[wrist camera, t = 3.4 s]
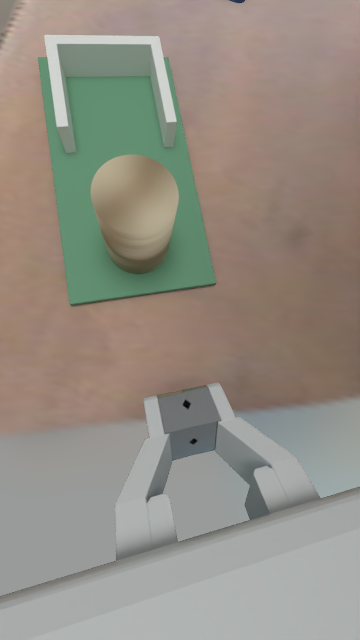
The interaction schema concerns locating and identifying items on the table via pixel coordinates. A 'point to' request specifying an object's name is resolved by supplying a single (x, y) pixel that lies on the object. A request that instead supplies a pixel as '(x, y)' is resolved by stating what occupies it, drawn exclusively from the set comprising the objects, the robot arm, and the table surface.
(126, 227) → the maple canister
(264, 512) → the robot arm
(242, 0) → the smartphone
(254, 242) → the table surface
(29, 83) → the table surface
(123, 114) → the putting green
